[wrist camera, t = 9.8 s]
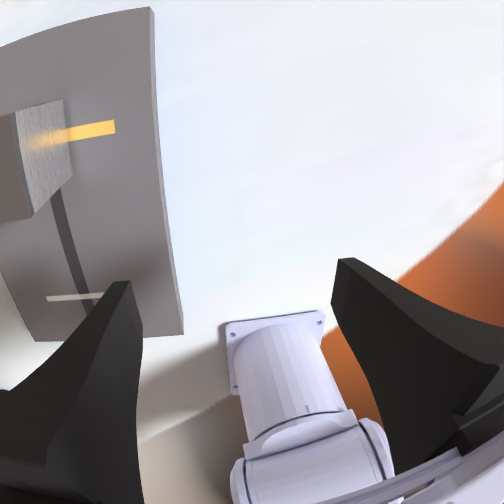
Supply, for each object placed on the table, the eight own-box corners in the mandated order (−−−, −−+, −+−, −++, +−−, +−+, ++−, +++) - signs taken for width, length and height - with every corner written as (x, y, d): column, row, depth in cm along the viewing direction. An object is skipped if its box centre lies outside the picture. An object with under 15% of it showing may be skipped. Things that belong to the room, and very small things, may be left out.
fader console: (183, 315, 23) (183, 334, 21) (42, 324, 21) (34, 341, 20) (154, 14, 13) (149, 6, 11) (-25, 66, 11) (-43, 68, 9)
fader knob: (73, 174, 14) (30, 218, 10) (26, 183, 14) (-23, 228, 9) (62, 99, 12) (9, 113, 8) (14, 112, 12) (-45, 134, 7)
